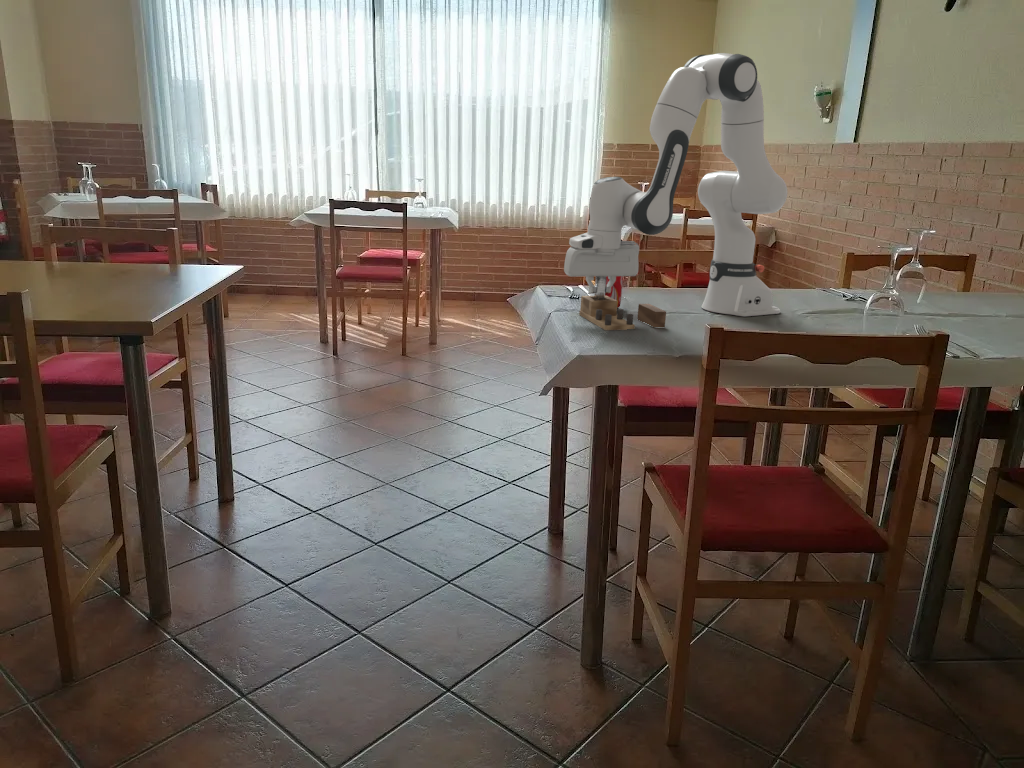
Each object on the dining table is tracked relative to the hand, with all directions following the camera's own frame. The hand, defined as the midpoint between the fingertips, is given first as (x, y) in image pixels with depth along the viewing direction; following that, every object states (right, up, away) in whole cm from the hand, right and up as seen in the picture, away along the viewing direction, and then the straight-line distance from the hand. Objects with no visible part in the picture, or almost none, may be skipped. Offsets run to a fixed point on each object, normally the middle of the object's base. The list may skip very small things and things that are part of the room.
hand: (599, 292), depth 208 cm
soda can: (+4, -3, +15) cm, 16 cm away
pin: (0, -4, +1) cm, 4 cm away
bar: (+13, -9, -2) cm, 16 cm away
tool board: (+1, -8, -3) cm, 9 cm away
